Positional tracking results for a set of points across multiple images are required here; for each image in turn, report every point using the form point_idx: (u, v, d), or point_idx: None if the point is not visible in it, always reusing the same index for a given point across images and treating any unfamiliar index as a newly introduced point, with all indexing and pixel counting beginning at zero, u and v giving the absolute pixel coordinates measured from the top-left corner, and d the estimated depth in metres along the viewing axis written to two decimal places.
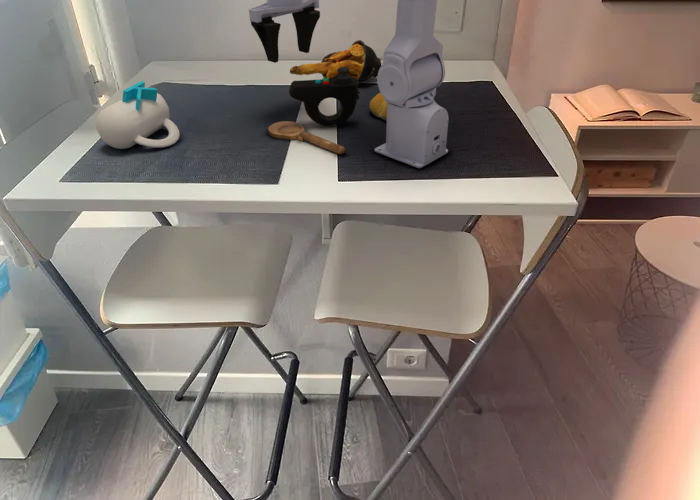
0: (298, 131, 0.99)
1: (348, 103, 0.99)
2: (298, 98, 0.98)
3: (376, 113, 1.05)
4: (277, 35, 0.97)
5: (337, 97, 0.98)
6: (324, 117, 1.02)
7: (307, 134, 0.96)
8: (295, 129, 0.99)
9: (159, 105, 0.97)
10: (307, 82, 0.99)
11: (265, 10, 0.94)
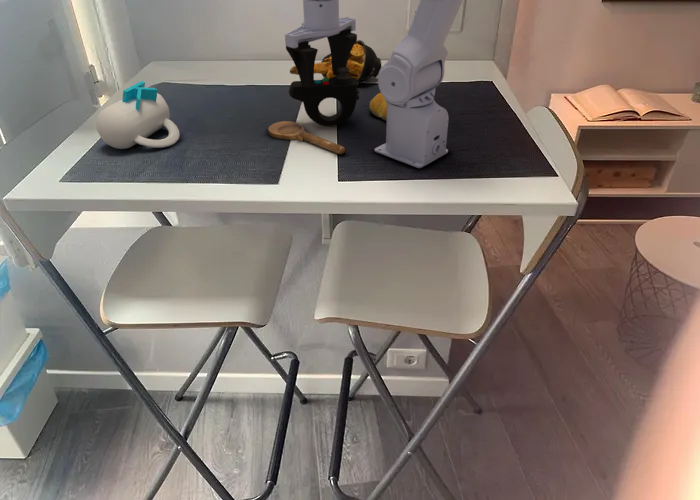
0: (298, 131, 0.99)
1: (348, 103, 0.99)
2: (298, 98, 0.98)
3: (376, 113, 1.05)
4: (313, 60, 0.92)
5: (337, 97, 0.99)
6: (324, 117, 1.02)
7: (307, 134, 0.96)
8: (295, 129, 0.99)
9: (159, 105, 0.97)
10: None
11: (302, 35, 0.89)
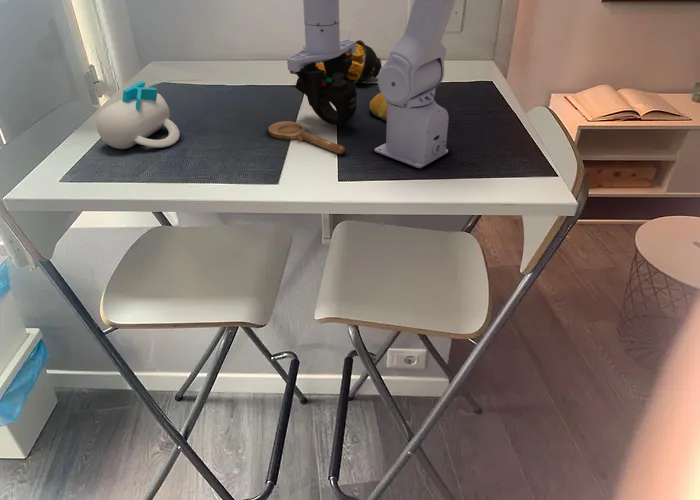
0: (298, 131, 0.99)
1: (339, 109, 0.97)
2: (301, 91, 1.01)
3: (376, 113, 1.05)
4: (321, 81, 0.95)
5: (329, 101, 0.97)
6: (329, 114, 1.02)
7: (307, 134, 0.96)
8: (295, 129, 0.99)
9: (159, 105, 0.97)
10: None
11: (304, 59, 0.91)
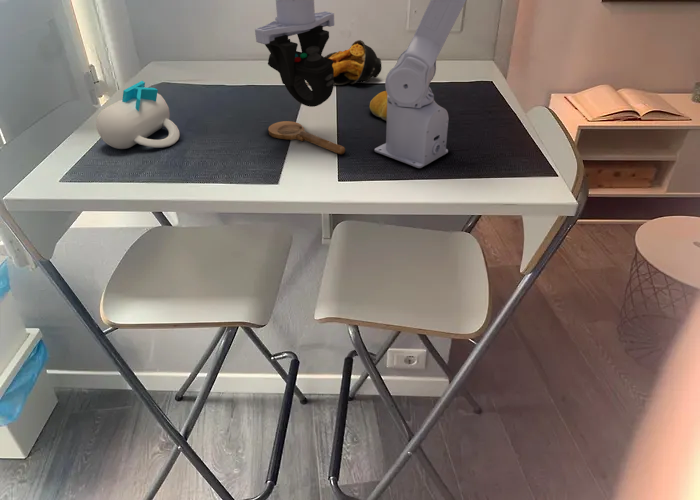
0: (298, 131, 0.99)
1: (314, 88, 0.88)
2: (274, 68, 0.92)
3: (376, 113, 1.05)
4: (293, 56, 0.86)
5: (303, 78, 0.88)
6: (304, 94, 0.93)
7: (307, 134, 0.96)
8: (295, 129, 0.99)
9: (159, 105, 0.97)
10: None
11: (274, 30, 0.82)
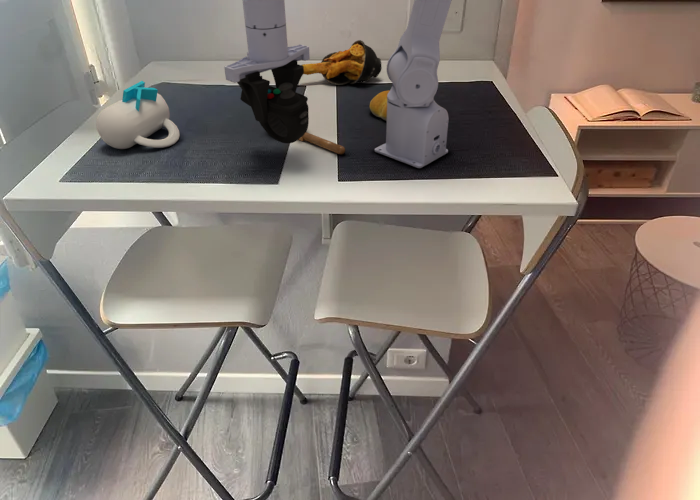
0: None
1: (288, 125, 0.85)
2: (247, 103, 0.88)
3: (376, 113, 1.05)
4: (266, 93, 0.82)
5: (277, 115, 0.85)
6: (279, 130, 0.89)
7: (307, 134, 0.96)
8: None
9: (159, 105, 0.97)
10: None
11: (244, 68, 0.79)
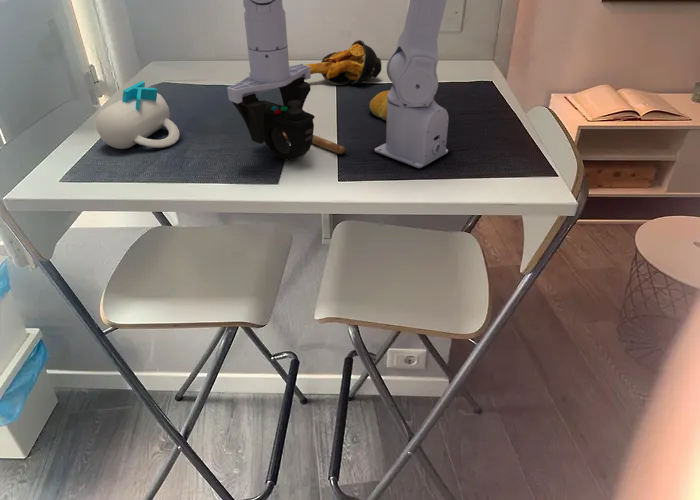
0: None
1: (293, 141, 0.87)
2: None
3: (376, 113, 1.05)
4: (262, 114, 0.83)
5: (282, 131, 0.87)
6: (281, 148, 0.91)
7: None
8: None
9: (159, 105, 0.97)
10: (268, 105, 0.90)
11: (246, 89, 0.80)
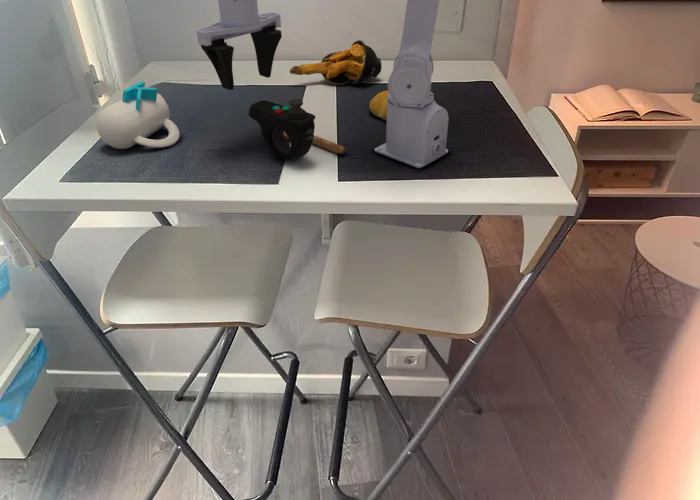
0: None
1: (293, 141, 0.87)
2: (254, 119, 0.91)
3: (376, 113, 1.05)
4: (230, 59, 0.85)
5: (283, 130, 0.87)
6: (281, 148, 0.91)
7: None
8: None
9: (159, 105, 0.97)
10: (270, 105, 0.90)
11: (215, 32, 0.82)
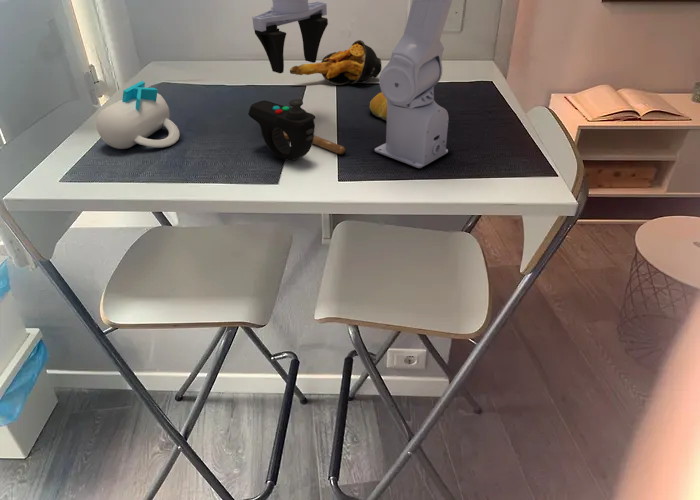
0: None
1: (293, 141, 0.87)
2: (254, 119, 0.91)
3: (376, 113, 1.05)
4: (282, 44, 0.91)
5: (283, 130, 0.87)
6: (281, 148, 0.91)
7: None
8: None
9: (159, 105, 0.97)
10: (270, 105, 0.90)
11: (270, 18, 0.88)
